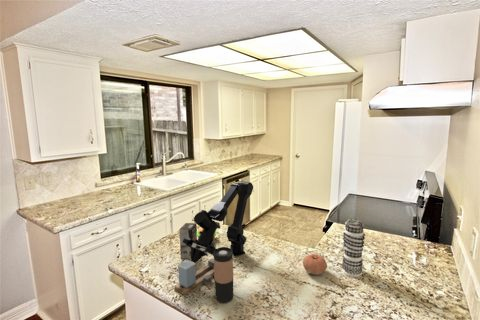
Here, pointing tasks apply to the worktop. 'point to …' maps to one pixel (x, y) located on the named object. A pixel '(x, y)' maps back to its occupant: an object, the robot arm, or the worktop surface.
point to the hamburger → (201, 231)
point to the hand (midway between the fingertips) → (191, 265)
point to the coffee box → (189, 232)
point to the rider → (186, 273)
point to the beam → (204, 279)
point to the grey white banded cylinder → (353, 247)
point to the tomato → (315, 264)
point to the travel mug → (223, 274)
